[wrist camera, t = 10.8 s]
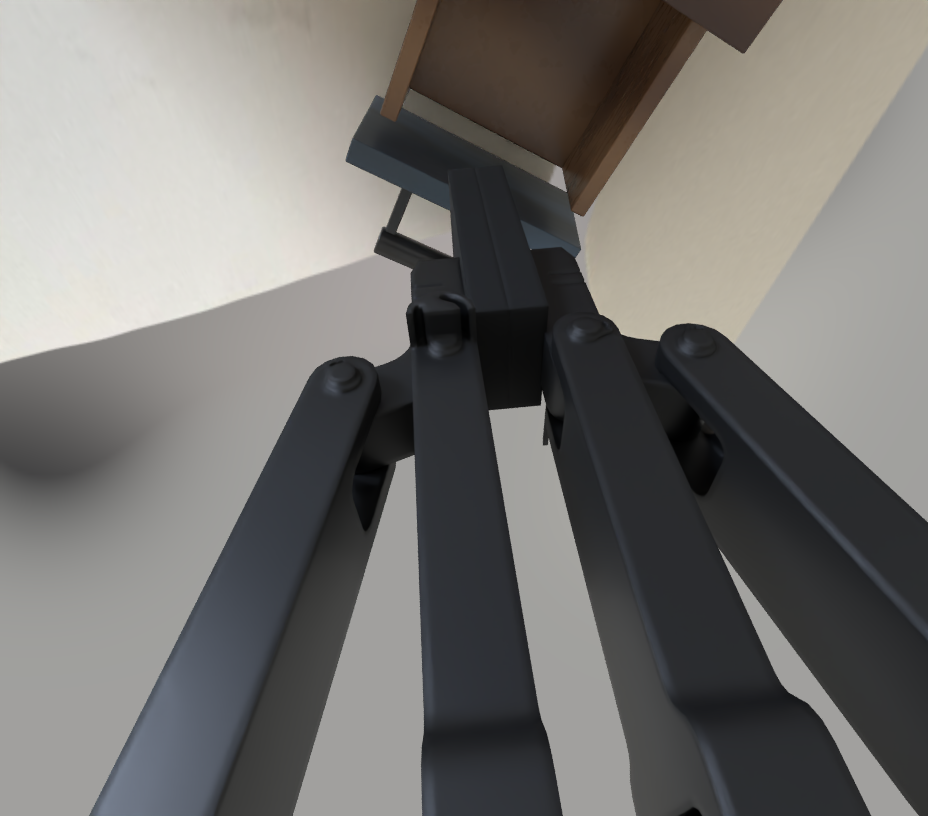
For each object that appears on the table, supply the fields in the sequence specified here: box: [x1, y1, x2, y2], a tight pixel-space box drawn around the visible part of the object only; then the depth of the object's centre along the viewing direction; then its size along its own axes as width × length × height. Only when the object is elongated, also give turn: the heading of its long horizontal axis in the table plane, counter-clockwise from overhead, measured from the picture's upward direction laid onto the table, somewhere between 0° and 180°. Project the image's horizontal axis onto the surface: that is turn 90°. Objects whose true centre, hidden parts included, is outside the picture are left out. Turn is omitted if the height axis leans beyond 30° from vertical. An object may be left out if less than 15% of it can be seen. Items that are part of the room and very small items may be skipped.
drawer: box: [346, 0, 707, 269], centre depth 27 cm, size 20×13×7 cm, turn 155°
